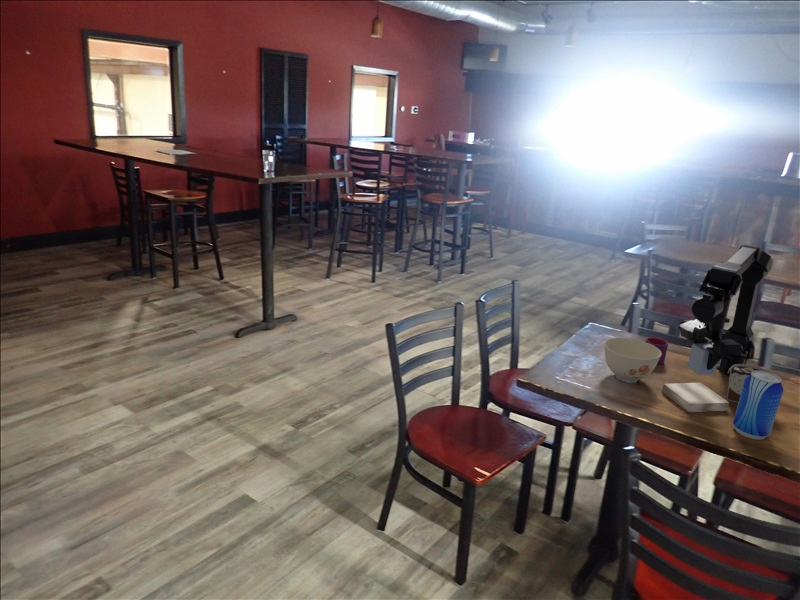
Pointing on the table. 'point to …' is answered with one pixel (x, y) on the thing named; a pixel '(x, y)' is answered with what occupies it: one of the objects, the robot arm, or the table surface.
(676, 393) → the birch base
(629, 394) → the table surface
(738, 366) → the food container
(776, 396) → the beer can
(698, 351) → the slate block
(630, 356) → the bowl
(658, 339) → the mug
